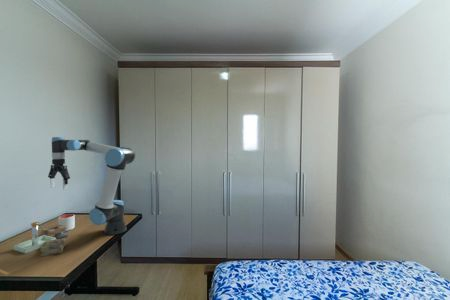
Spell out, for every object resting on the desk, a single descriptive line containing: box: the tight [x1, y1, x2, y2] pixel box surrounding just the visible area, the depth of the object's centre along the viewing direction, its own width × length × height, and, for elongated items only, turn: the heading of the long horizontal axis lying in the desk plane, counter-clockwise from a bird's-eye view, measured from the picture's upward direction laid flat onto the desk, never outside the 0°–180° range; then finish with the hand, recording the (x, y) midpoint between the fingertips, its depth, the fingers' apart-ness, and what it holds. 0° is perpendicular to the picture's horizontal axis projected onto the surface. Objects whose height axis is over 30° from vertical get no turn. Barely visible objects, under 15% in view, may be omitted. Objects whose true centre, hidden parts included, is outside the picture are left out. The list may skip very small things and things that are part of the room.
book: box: [40, 237, 66, 257], centre depth 145 cm, size 15×11×5 cm
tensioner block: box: [41, 224, 69, 239], centre depth 166 cm, size 16×10×5 cm, turn 67°
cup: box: [58, 213, 76, 232], centre depth 178 cm, size 10×10×10 cm
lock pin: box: [30, 221, 40, 246], centre depth 149 cm, size 4×4×14 cm
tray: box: [13, 235, 56, 255], centre depth 149 cm, size 12×17×3 cm
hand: (59, 188), depth 170 cm, fingers open, 13 cm apart
